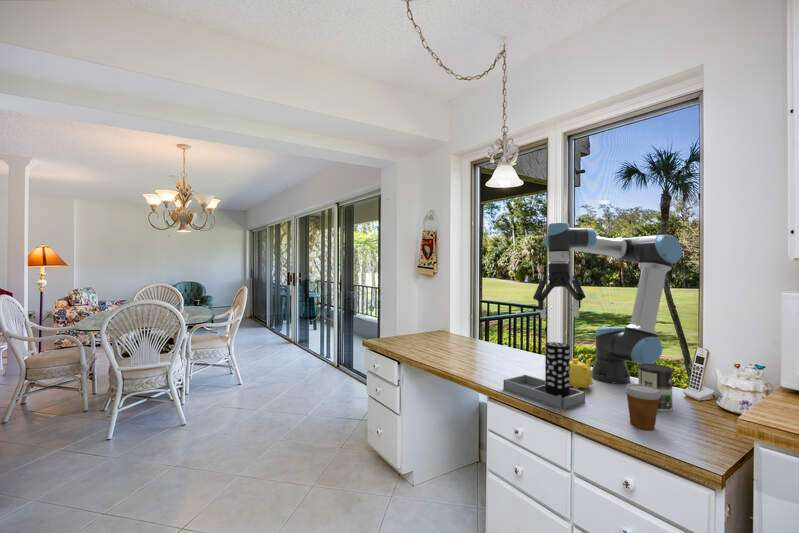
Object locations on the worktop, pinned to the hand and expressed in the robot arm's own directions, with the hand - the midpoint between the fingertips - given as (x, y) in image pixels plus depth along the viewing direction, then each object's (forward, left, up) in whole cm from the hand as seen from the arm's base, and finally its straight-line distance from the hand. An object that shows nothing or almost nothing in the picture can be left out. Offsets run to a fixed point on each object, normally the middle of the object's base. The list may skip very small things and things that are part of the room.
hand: (559, 317), depth 145 cm
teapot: (-10, -13, -31) cm, 34 cm away
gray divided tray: (+6, +2, -30) cm, 31 cm away
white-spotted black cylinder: (+2, +6, -29) cm, 30 cm away
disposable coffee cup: (-20, +24, -31) cm, 43 cm away
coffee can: (-32, +4, -31) cm, 44 cm away
